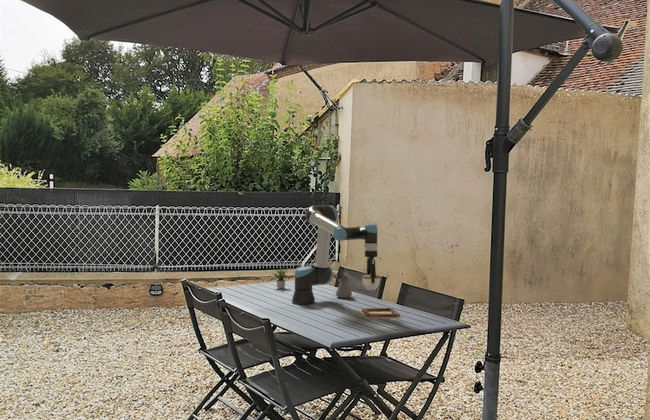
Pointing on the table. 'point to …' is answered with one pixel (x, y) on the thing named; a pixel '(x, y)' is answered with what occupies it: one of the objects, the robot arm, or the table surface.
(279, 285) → the house plant
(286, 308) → the table surface
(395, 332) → the table surface
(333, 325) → the table surface
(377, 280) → the lidded jar
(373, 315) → the wooden square tray
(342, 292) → the coffee pot
